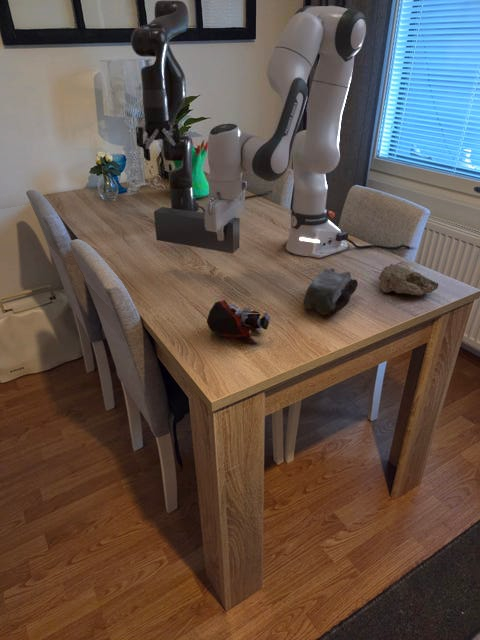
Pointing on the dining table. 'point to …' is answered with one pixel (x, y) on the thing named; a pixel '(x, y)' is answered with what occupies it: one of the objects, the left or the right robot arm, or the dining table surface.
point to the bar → (194, 230)
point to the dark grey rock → (330, 292)
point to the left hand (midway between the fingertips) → (160, 158)
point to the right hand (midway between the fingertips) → (225, 236)
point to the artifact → (405, 280)
